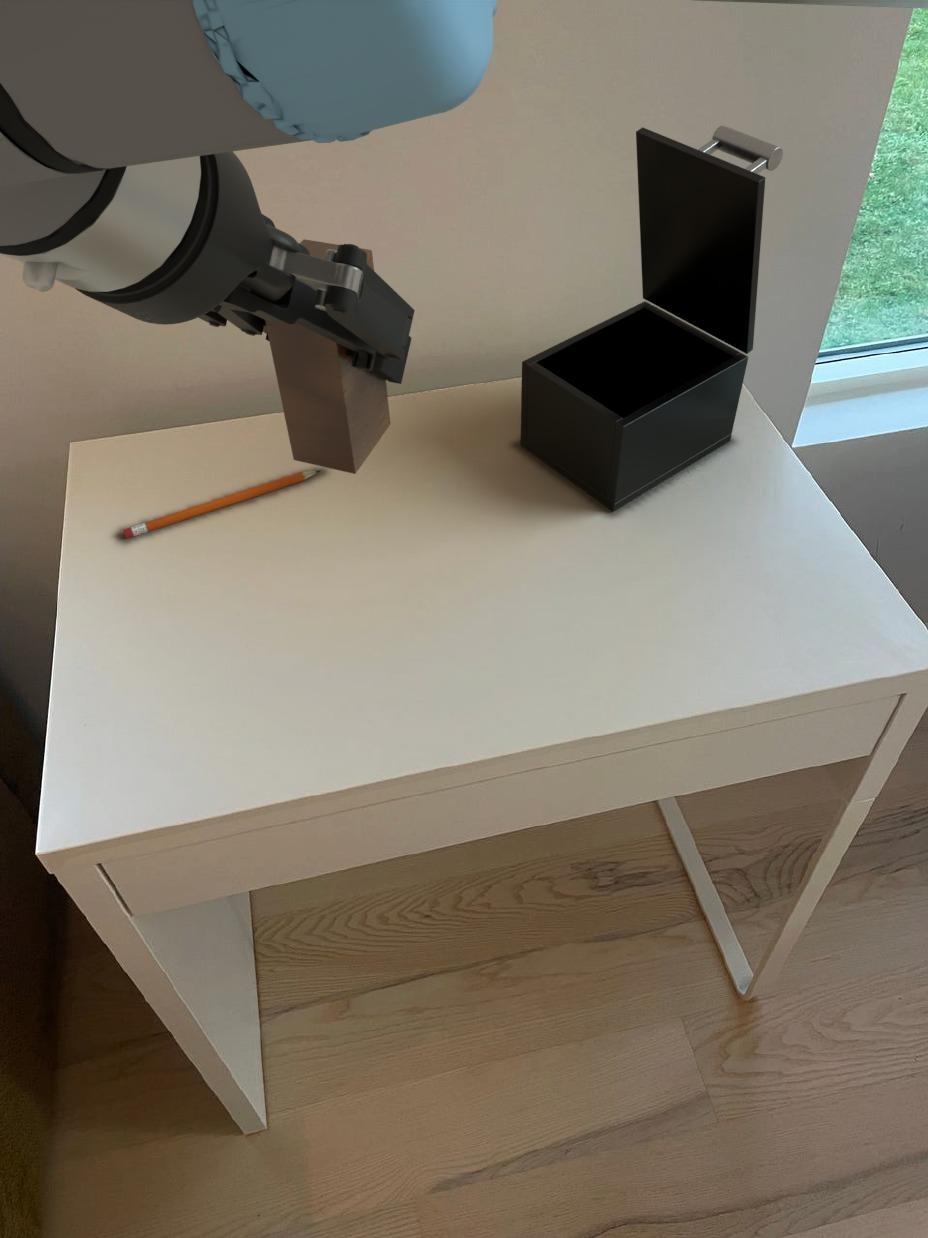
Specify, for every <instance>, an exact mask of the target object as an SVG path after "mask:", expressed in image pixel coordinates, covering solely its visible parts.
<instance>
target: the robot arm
mask: <svg viewBox="0 0 928 1238" xmlns="http://www.w3.org/2000/svg"><path fill="white" fill-rule="evenodd" d="M693 1H696V2H725V3H751V4H753V3H754V4H755V3H756V4H780V5H781V4H784V5H810V6H811V5H812V6H813V5H815V6H841V7H867V8H895V9H897V8H899V9H900V8H901V9H902V8H903V9H924V10H925V9H927V10H928V0H693ZM497 4H498V0H0V255H1V256H4V257H6V258H9V259H12V260H17V261H19V262H20V263H22V264H23V269H22V281H23V283H24V284H25V286H26V287H28V288H31V289H34V290H37V291H39V292H41V293H44V292H49V291H51V290H52V289H53V288H54V285H55V281H57V282H59V283H62V284H64V285H66V286H68V287H70V288H73V289H75V290H76V291H77V292H79V293H80V294H83V295H84V296H85V297H88V298H90V299H92V300H94V301H97V302H99V303H101V304H103V305H105V306H107V307H109V308H112V309H114V310H116V311H118V312H121V313H123V314H124V315H127V316H129V317H132V318H134V319H135V320H138V321H141V322H145V323H148V324H153V325H163V326H164V325H167V326H168V325H177V324H182V323H186V322H187V323H188V322H190V321H193V320H196V319H200V320H202V321H204V322H206V323H208V324H209V326H211V327H214V328H215V327H216V328H219V327H227V323H228V322H229V323H230V324H232V325H233V326H234V327H236V328H237V329H239V330H240V331H241V332H243V333H245V334H246V335H249V336H254V337H255V336H262V335H263V333H264V334H265V335H266V336H265V340H266V341H268V342H269V337H268V332H267V327H266V323H265V320H266V321H269V322H276V323H283V324H290V325H292V324H294V323H297V324H299V325H302V326H304V327H306V328H308V329H310V330H312V331H314V332H316V333H318V334H320V335H322V336H324V337H326V338H328V339H330V340H332V341H334V342H336V343H338V344H340V345H342V346H344V347H346V348H347V352H346V355H347V356H349V357H350V358H352V359H353V360H352V365H351V366H352V367H355V368H358V369H362V370H366V371H373V372H374V373H376V374H378V375H379V376H381V377H383V378H384V379H386V382H389V383H393V384H399V385H402V383H403V378H404V377H403V376H404V373H405V369H406V364H407V360H408V356H409V351H410V347H411V344H412V343H411V342H412V337H411V336H410V333H411V329H412V324H413V320H414V315H415V309H414V308H413V307H412V306H411V305H410V304H409V303H408V302H407V301H406V300H405V299H404V298H403V297H401V295H400V294H399V293H398V292H396V291H395V289H393V287H391V286H390V284H388V283H387V282H386V280H384V279H383V278H382V277H381V276H380V275H379V274H378V273H377V272H376V271H375V269H374V270H372V269H371V268H370V267H369V266H368V265H367V253H366V252H365V251H363V250H361V249H359V248H360V247H359V246H358V245H356V244H354V243H353V244H352V243H344V244H337V245H338V248H337V251H336V250H332V249H328V250H327V251H326V256H325V259H321V258H317V257H313V256H310V253H309V251H308V249H307V248H306V247H304V246H302V245H301V244H299V243H300V242H298V241H297V240H296V239H295V237H293V236H292V235H291V234H289V233H287V232H285V231H283V230H281V229H279V228H277V227H276V226H275V225H276V224H275V223H274V221H273V220H272V219H271V218H270V217H268V216H267V215H265V214H264V213H262V210H261V208H260V205H259V201H258V198H257V194H256V191H255V188H254V185H253V183H252V180H251V178H250V175H249V173H248V171H247V169H246V168H245V166H244V164H243V162H242V161H241V159H239V157H238V156H237V154H236V153H235V152H238V151H245V150H252V149H259V148H261V149H262V148H267V147H273V146H274V147H275V146H281V145H287V144H295V143H296V144H297V143H302V142H310V141H312V142H315V143H316V144H331V143H333V142H336V141H338V142H340V143H341V142H351V141H355V140H358V139H360V138H363V137H366V136H368V135H370V133H371V132H372V131H375V130H380V129H384V128H387V127H391V126H395V125H399V124H403V123H408V122H411V121H415V120H418V119H423V118H427V117H430V116H435V115H439V114H443V113H446V112H449V111H452V110H453V109H456V108H457V107H459V106H460V105H462V104H463V103H465V102H467V101H468V100H469V99H470V98H471V96H472V95H473V94H474V93H475V92H476V91H477V89H478V88H479V86H481V85H480V84H481V83H482V82H483V79H484V78H485V75H486V73H487V71H488V68H489V66H490V64H491V63H490V62H491V59H492V55H493V51H494V41H495V38H494V37H495V36H494V17H495V16H496V13H497V9H498V8H497V7H498V5H497Z"/></svg>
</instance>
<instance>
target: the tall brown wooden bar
mask: <svg viewBox="0 0 928 1238" xmlns="http://www.w3.org/2000/svg"><path fill="white" fill-rule="evenodd" d="M298 243H299V244H301V245H302V246H304V247H306V248H307V249H308V251H309V253H310V256H313V257H317V258H321V259H325V256H326V251H327V250H328V249H332V250H336V251H337V248H338V245H339V244H336V243H330V242H325V241H318V240H311V239H305V238H304V239H302V240H301V241H300V242H298ZM359 249H361V250H363V251H365V252H366V253H367V265H368V266H369V267H370V268H371V269H372V270H374V271H375V268H374V267H375V265H374V258H373V250H372V249H369V248H368V249H367V248H361V247H359ZM265 323H266V327H267V332H268V337H269V341H268V343H269V346H270V352H271V356H272V362H273V365H274V370H275V376H276V382H277V385H278V390H279V396H280V400H281V405H282V410H283V415H284V420H285V425H286V430H287V434H288V439H289V444H290V449H291V454H292V459H293V461H295V462H301V463H305V464H309V465H314V466H318V467H322V468H327V469H332V470H336V471H339V472H345V473H348V474H354V475H356V474H357V472H358V471H359V470H360V468H361V467H362V465H363V464H364V463H365V461H366V460H367V459H368V457H369V456H370V454H371V453H372V452H373V450H374V449H375V447H376V445H377V444H378V443H379V441H380V440H381V438H382V437H383V435H384V434H385V433H386V431H387V430H388V428H389V427H390V426H391V423H392V422H391V415H390V405H389V397H388V388H387V380H386V379H384V378H383V377H381V376H379V375H378V374H376V373H374V372H373V371H366V370H362V369H358V368H355V367H352V366H351V365H352V360H353V359H352V358H350V357H349V356H347V355H346V352H347V348H346V347H344V346H342V345H340V344H338V343H336V342H334V341H332V340H330V339H328V338H326V337H324V336H322V335H320V334H318V333H316V332H314V331H312V330H310V329H308V328H306V327H304V326H302V325H299V324H297V323H294V324H292V325H290V324H283V323H276V322H269V321H266V320H265Z"/></svg>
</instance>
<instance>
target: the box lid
mask: <svg viewBox="0 0 928 1238" xmlns="http://www.w3.org/2000/svg"><path fill="white" fill-rule="evenodd" d="M635 143H636V165H637V166H636V167H637V168H636V169H637V170H636V171H637V192H638V215H639V216H638V217H639V218H638V219H639V239H640V241H639V242H640V261H641V262H640V263H641V264H640V265H641V266H640V267H641V285H642V286H641V289H642V299H643V300H645V301H646V302H648V303H650V304H652V305H654V306H655V307H657V308H659V309H661V310H663V311H665V312H667V313H668V314H670V315H672V316H674V317H676V318H678V319H680V320H681V321H683V322H685V323H687V324H689V325H691V326H693V327H694V328H696V329H698V330H700V331H702V332H704V333H706V334H707V335H709V336H711V337H713V338H715V339H717V340H719V341H720V342H722V343H724V344H726V345H728V346H730V347H732V348H733V349H735V350H737V351H739V352H741V353H743V354H745V355H748V354H749V353H751V352H752V351H753V350H754V339H755V327H756V314H757V313H756V312H757V299H758V284H759V273H760V272H759V271H760V257H761V245H762V243H761V242H762V231H763V229H762V228H763V218H764V217H763V216H764V203H765V192H766V191H765V190H766V189H765V188H766V177H765V176H763V175H761V174H760V173H761V172H762V171H764V170H767V171H770V172H772V171H775V170H776V169H777V168H778V167H779V165H780V164H781V162H782V160H783V157H784V149H783V148H782V147H781V146H778V145H775V144H773V143H770V142H768V141H766V140H762V139H760V138H758V137H755V136H752V135H750V134H748V133H747V134H746V133H745V132H742V131H739V130H737V129H734V128H731V127H728V126H726V125H724V124H723V125H720V126H718V127H717V128H716V129H715V131H714V132H713V134H712V137H711V140H709V141H707V142H706V143H705V144H704V145H702V146H700V147H699V148H696V147H692V146H690V145H688V144H685V143H683V142H681V141H677V140H675V139H673V138H670V137H668V136H665V135H663V134H660V133H658V132H655V131H654V130H650V129H648V128H645V127H643V126H642V127H641V128H639V129H638V130H636V131H635ZM716 151H720V152H723V153H726V154H728V155H730V156H732V157H735V158H738V159H740V160H743V161H744V162H747V163H750V164H749V165H748V166H747V167H745V168H744V167H741V166H739V165H737V164H734V163H731V162H729V161H727V160H724V159H721V158H720V157H717V156H714V155H713V154H714V153H715V152H716Z"/></svg>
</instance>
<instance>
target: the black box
mask: <svg viewBox="0 0 928 1238" xmlns="http://www.w3.org/2000/svg"><path fill="white" fill-rule="evenodd" d="M748 361H749V356H748V355H747V354H745V353H744V352H742V351H740V350H738V349H736V348H734V347H733V346H731V345H729V344H727V343H725V342H723V341H721V340H720V339H718V338H716V337H714V336H712V335H710V334H708V333H707V332H705V331H703V330H701V329H699V328H697V327H695V326H693V325H692V324H690V323H688V322H686V321H684V320H682V319H680V318H679V317H677V316H675V315H673V314H671V313H669V312H667V311H666V310H664V309H662V308H660V307H658V306H656V305H654V304H652V303H651V302H649V301H647V300H645V301H642V302H640V303H637V304H636V305H634V306H632V307H629V308H628V309H626V310H624V311H621V312H620V313H618V314H616V315H614V316H612V317H609V318H608V319H605V320H603V321H602V322H599V323H597V324H596V325H593V326H591V327H589V328H588V329H585V330H584V331H581V332H579V333H577V334H575V335H573V336H571V337H569V338H567V339H565V340H563V341H561V342H559V343H557V344H555V345H553V346H550V347H548V348H547V349H545V350H543V351H540V352H539V353H537V354H534V355H533V356H531V357H529V358H527V359H523V360H522V361H521V388H520V389H521V391H520V393H521V394H520V395H521V396H520V403H521V404H520V436H519V437H520V440H519V441H520V442H519V445H520V446H521V447H522V448H523V449H525V450H526V451H527V452H528V453H531V454H532V455H533V456H535V457H536V458H538V460H540V461H541V462H543V463H545V464H546V465H547V466H549V467H550V468H551V469H553V470H554V471H555V472H557V473H558V474H560V475H561V476H562V477H564V478H565V479H566V480H568V481H569V482H571V483H572V484H574V485H575V486H577V487H578V488H579V489H581V490H582V491H584V492H585V493H586V494H588V495H589V496H591V497H592V498H593V499H595V500H596V501H597V502H599V503H600V504H602V505H603V506H604V507H606V508H607V509H609V510H610V511H611V512H612V513H614V512H616V511H617V510H619V509H621V508H622V507H624V506H625V505H627V504H629V503H630V502H632V501H634V500H636V499H637V498H638V497H640V496H642V495H644V494H646V493H647V492H649V491H650V490H652V489H653V488H656V487H657V486H659V485H661V484H662V483H664V482H666V481H667V480H669V479H670V478H671V477H674V476H675V475H677V474H678V473H680V472H682V471H683V470H685V469H687V468H688V467H690V466H692V465H693V464H694V463H697V462H698V461H700V460H701V459H703V458H705V457H706V456H708V455H710V454H712V453H713V452H715V451H716V450H718V449H720V448H721V447H723V446H724V445H726V444H728V443H729V442H731V438H732V435H733V434H732V433H733V430H734V425H735V420H736V416H737V411H738V407H739V402H740V398H741V394H742V388H743V384H744V379H745V375H746V371H747V365H748Z"/></svg>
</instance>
